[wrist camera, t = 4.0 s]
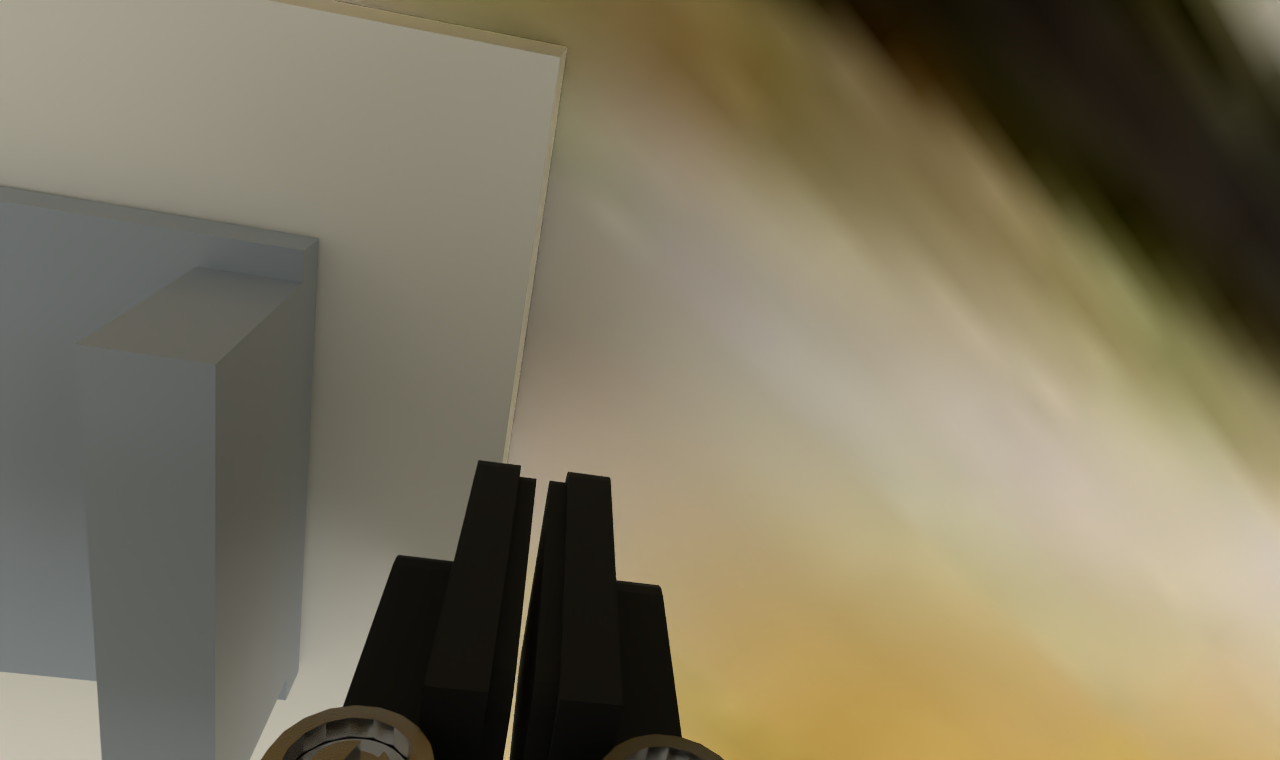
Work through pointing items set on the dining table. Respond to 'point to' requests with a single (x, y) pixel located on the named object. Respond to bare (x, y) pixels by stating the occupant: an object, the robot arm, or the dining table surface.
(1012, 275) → the dining table surface
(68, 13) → the socket
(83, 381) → the plate
